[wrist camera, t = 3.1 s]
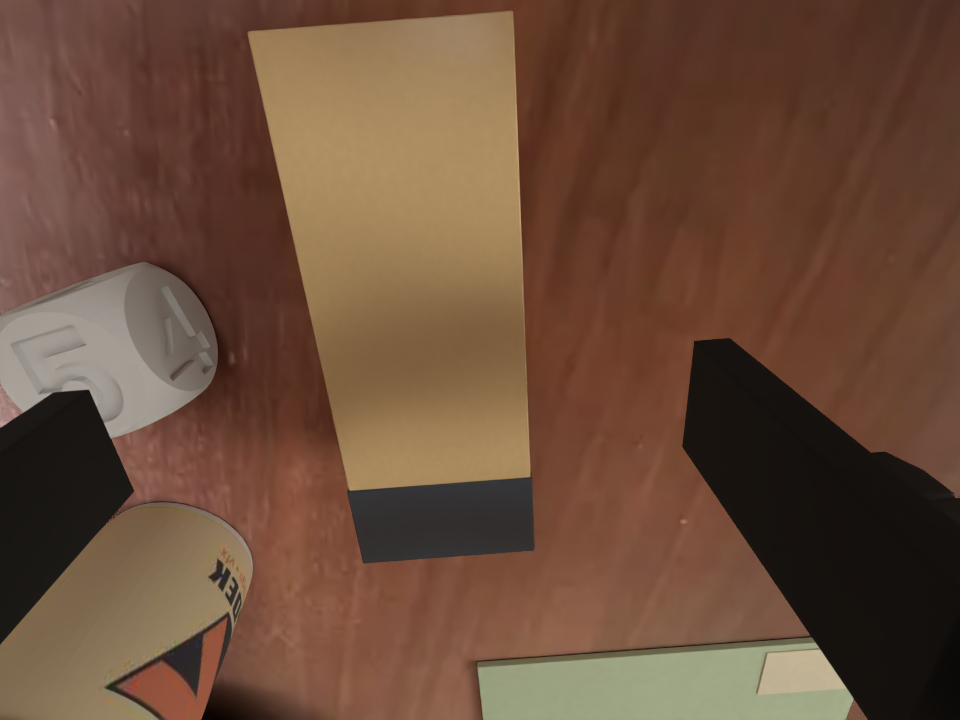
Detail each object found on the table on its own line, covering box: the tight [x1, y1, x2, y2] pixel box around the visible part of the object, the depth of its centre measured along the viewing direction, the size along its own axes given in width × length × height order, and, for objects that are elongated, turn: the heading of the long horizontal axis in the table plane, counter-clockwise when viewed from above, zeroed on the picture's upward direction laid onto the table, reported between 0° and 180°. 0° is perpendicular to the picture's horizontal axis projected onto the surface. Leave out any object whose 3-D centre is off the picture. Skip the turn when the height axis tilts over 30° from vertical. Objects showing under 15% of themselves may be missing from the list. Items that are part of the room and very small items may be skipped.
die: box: [0, 262, 218, 438], centre depth 20 cm, size 5×5×5 cm
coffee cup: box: [0, 502, 253, 720], centre depth 22 cm, size 9×9×12 cm
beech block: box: [248, 11, 535, 563], centre depth 18 cm, size 16×6×7 cm, turn 4°
